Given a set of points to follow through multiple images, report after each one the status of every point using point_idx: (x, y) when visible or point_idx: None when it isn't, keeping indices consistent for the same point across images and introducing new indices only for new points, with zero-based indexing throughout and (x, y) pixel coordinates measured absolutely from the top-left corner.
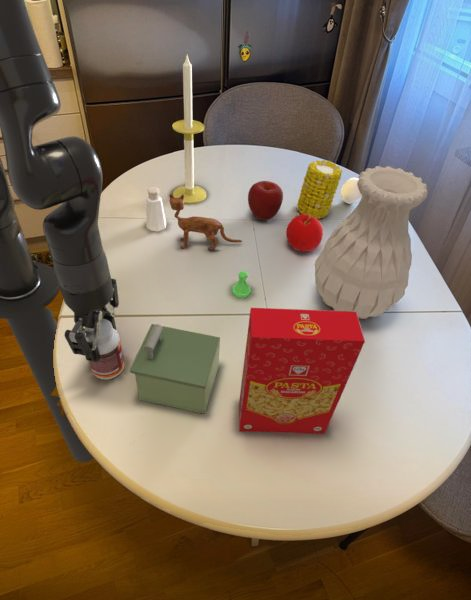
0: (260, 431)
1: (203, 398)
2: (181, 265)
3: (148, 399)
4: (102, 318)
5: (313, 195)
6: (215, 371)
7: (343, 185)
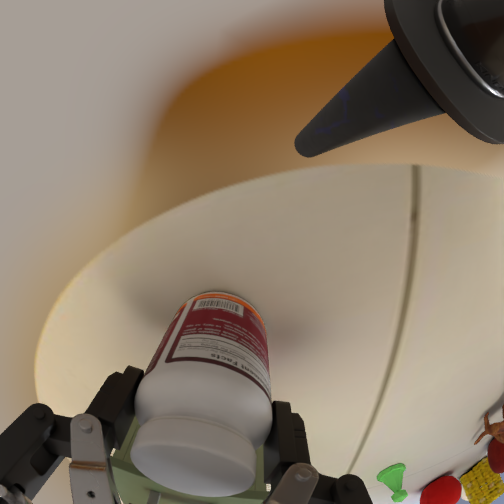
0: None
1: None
2: (480, 389)
3: None
4: (276, 460)
5: (478, 489)
6: None
7: None
